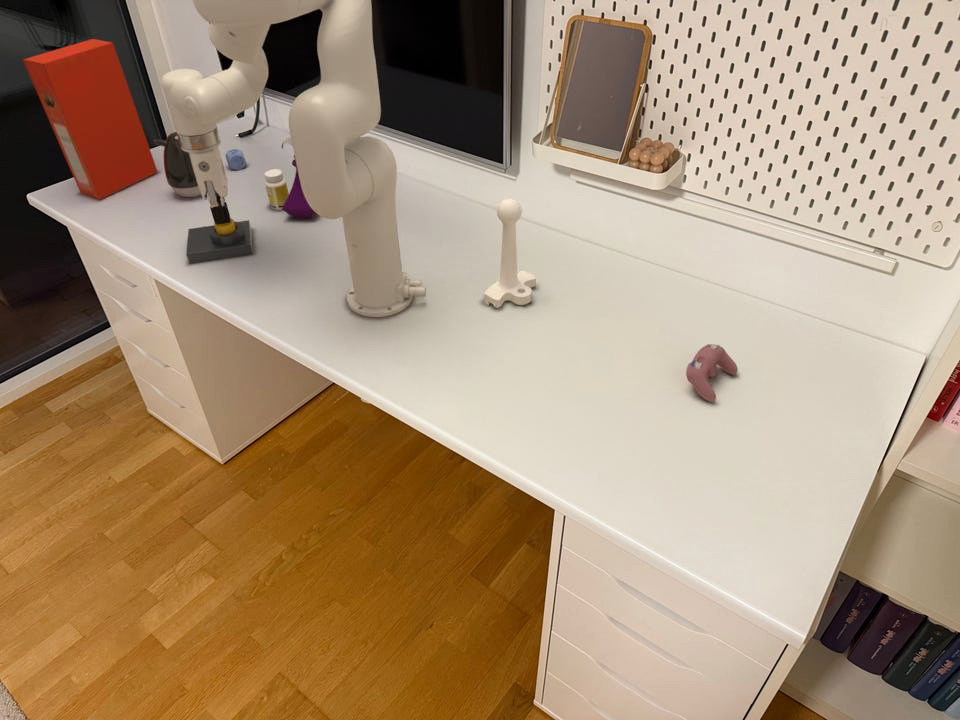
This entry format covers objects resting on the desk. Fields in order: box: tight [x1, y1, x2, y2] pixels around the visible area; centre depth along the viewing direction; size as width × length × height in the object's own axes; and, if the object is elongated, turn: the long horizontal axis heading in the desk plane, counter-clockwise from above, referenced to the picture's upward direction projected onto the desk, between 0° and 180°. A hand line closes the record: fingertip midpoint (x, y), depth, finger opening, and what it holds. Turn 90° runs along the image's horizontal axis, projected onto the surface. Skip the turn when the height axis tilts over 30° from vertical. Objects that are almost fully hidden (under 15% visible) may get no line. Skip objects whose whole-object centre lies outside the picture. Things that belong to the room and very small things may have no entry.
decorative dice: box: [225, 148, 247, 171], centre depth 181 cm, size 4×4×4 cm
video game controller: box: [685, 343, 739, 403], centre depth 113 cm, size 10×5×7 cm, turn 141°
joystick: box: [484, 198, 537, 309], centre depth 128 cm, size 11×8×20 cm
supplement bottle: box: [264, 168, 290, 211], centre depth 162 cm, size 5×5×8 cm
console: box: [185, 219, 254, 265], centre depth 150 cm, size 13×11×4 cm
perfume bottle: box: [280, 137, 316, 220], centre depth 156 cm, size 8×8×18 cm
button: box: [213, 217, 236, 235], centre depth 147 cm, size 4×4×2 cm
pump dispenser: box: [152, 131, 202, 198], centre depth 166 cm, size 10×10×15 cm
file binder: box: [22, 38, 159, 201], centre depth 166 cm, size 8×17×32 cm, turn 149°
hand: (222, 221), depth 147 cm, fingers closed
